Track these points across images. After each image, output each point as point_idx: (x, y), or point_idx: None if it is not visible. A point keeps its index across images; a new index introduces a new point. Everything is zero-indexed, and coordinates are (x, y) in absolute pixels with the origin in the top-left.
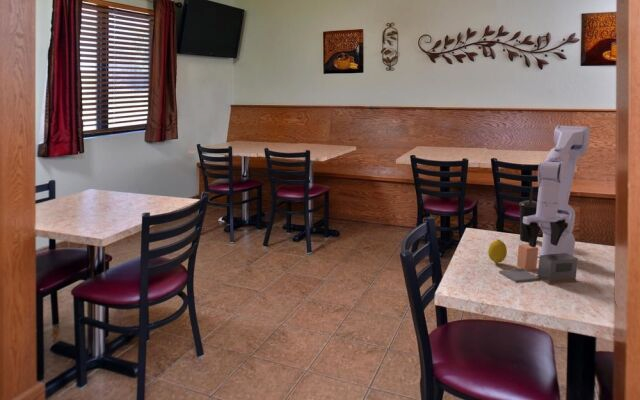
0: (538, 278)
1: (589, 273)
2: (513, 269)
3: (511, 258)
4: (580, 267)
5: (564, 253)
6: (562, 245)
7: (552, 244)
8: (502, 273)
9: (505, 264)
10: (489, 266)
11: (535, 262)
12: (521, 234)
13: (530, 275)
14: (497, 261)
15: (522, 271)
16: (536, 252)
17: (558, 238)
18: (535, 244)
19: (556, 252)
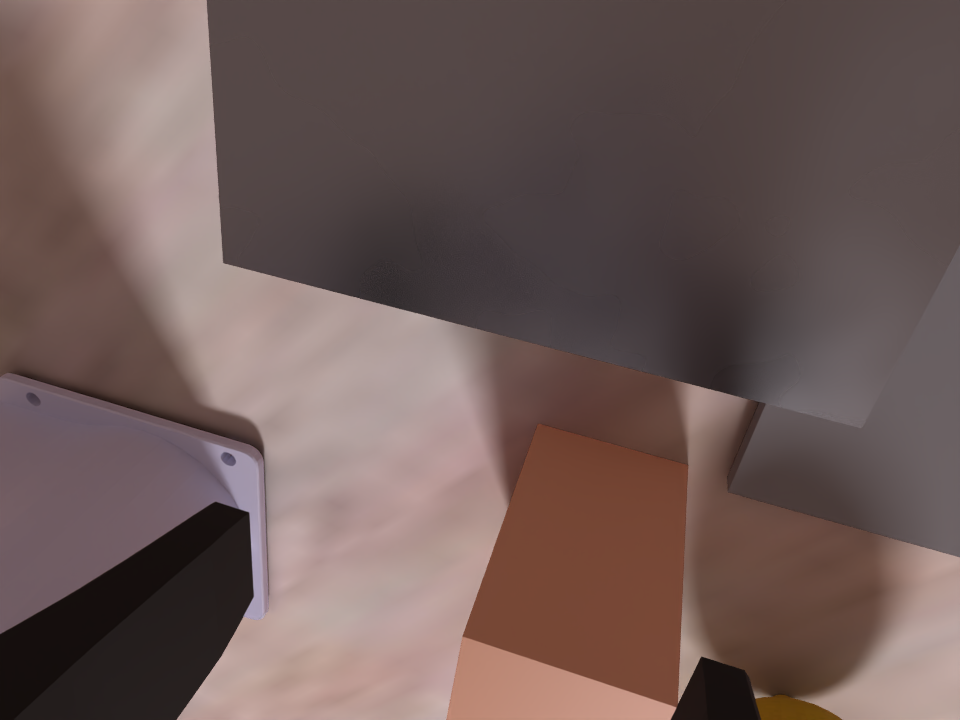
0: None
1: (53, 45)
2: (858, 528)
3: None
4: (48, 230)
5: (267, 254)
6: (9, 538)
7: (251, 565)
8: None
9: (717, 645)
10: (938, 703)
11: (538, 481)
12: None
13: None
14: (836, 716)
15: (827, 440)
16: (506, 583)
17: (113, 600)
18: (729, 714)
19: (130, 506)
